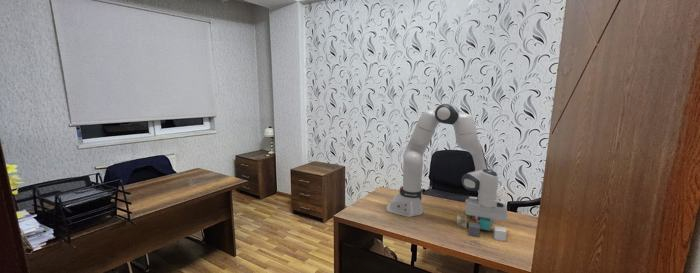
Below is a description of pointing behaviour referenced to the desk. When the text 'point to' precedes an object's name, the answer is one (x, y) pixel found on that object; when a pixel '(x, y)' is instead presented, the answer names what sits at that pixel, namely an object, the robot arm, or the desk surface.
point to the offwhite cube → (500, 233)
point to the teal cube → (485, 223)
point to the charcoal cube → (474, 229)
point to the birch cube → (461, 221)
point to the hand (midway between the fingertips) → (484, 224)
